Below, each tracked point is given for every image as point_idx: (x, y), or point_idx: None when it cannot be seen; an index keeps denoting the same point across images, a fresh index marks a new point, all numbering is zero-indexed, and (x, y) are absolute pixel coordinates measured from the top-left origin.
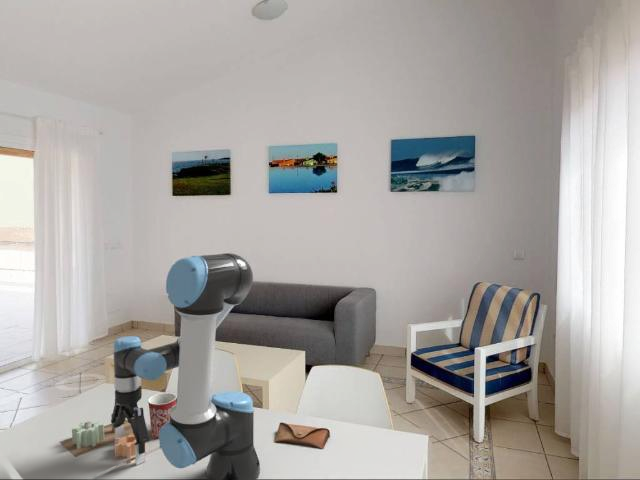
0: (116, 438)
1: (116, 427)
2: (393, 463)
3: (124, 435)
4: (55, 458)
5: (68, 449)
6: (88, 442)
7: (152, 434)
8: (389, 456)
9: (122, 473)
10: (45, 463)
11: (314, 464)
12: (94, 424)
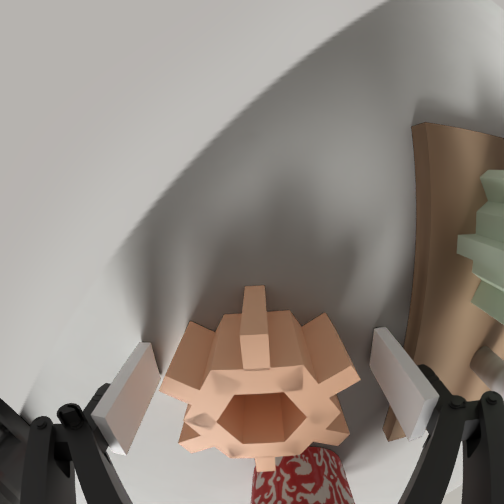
0: (353, 369)
1: (437, 404)
2: None
3: (387, 399)
4: (479, 91)
5: (498, 139)
6: (488, 225)
7: (305, 467)
8: None
9: (114, 267)
10: (462, 50)
11: None
12: None
